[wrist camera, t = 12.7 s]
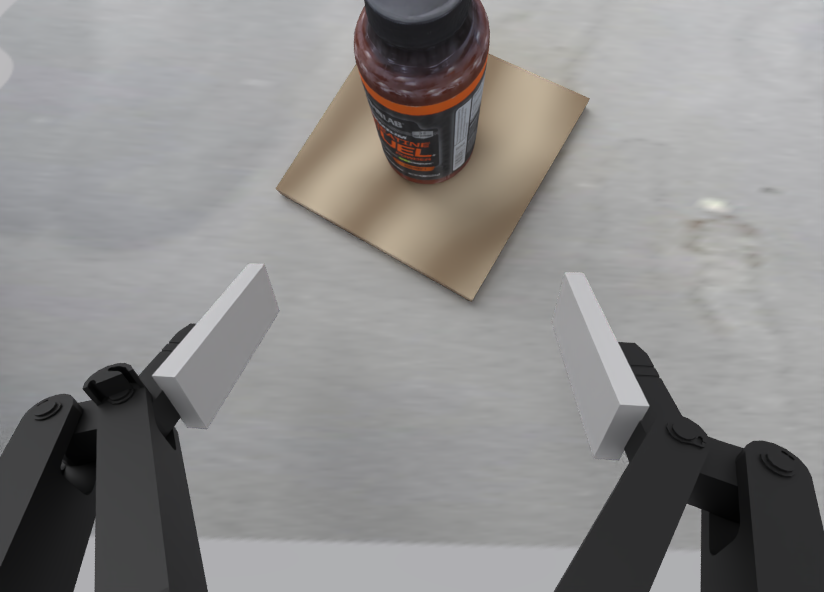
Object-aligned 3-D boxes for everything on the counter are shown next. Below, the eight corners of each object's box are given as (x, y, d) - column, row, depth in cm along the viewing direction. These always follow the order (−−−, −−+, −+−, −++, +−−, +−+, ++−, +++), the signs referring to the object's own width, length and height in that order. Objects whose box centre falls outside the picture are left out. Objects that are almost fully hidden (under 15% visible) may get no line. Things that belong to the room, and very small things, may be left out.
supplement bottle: (369, 169, 24) (302, 15, 13) (406, 92, 25) (372, -120, 14) (453, 202, 23) (458, 66, 12) (490, 120, 24) (526, -81, 13)
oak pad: (281, 193, 25) (275, 188, 25) (392, 20, 27) (391, 10, 26) (471, 302, 23) (472, 300, 22) (585, 106, 24) (590, 98, 23)
